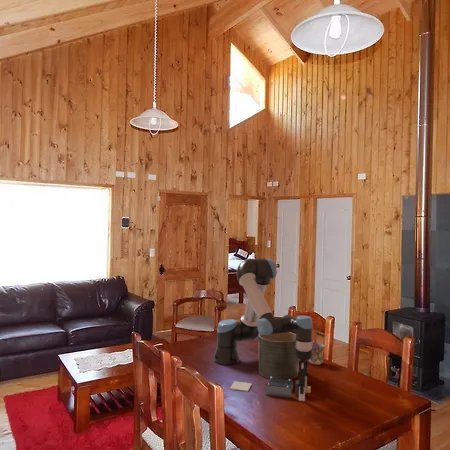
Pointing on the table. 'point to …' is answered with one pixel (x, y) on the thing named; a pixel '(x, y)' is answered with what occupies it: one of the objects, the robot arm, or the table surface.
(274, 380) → the shaft channel
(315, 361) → the mug
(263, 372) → the planter
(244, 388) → the coaster
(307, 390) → the plug
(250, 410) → the table surface
